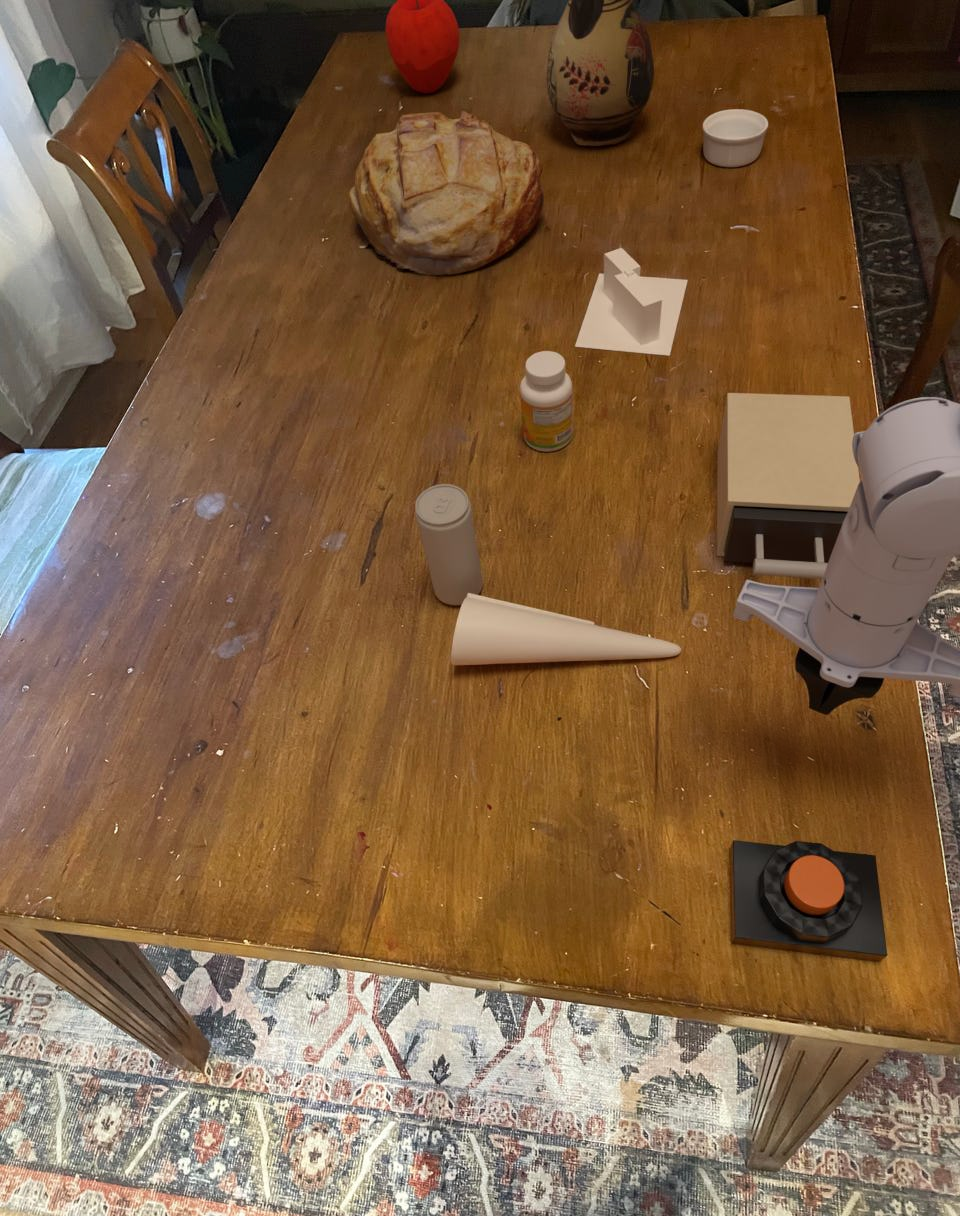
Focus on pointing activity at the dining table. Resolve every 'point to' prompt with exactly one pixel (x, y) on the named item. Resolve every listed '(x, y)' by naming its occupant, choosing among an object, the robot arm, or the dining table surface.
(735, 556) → the drawer
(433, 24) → the apple
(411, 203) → the bread
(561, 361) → the supplement bottle
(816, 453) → the cabinet
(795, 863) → the button
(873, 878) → the panel
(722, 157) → the ramekin
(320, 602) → the dining table surface
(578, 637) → the long cone
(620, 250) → the napkin holder
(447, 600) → the beverage can
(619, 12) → the ceramic jug
